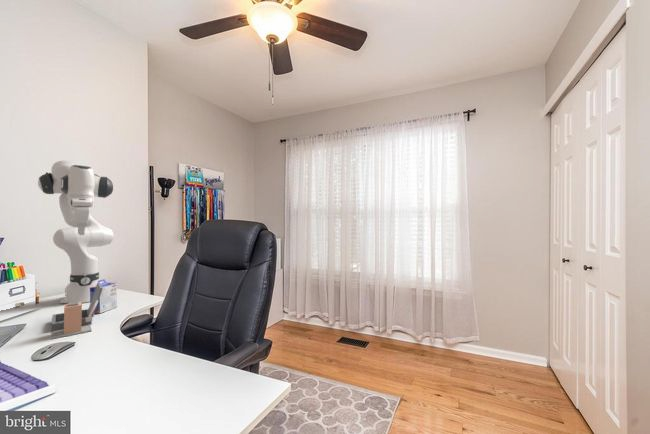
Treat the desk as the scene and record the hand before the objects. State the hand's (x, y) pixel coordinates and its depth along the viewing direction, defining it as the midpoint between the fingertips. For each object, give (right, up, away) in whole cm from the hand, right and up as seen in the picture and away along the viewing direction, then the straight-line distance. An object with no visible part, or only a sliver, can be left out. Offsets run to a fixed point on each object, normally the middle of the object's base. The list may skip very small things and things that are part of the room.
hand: (81, 234), depth 123 cm
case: (+1, -37, -3) cm, 37 cm away
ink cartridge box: (0, -37, +13) cm, 39 cm away
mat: (+8, -37, -13) cm, 40 cm away
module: (+8, -37, -13) cm, 40 cm away
